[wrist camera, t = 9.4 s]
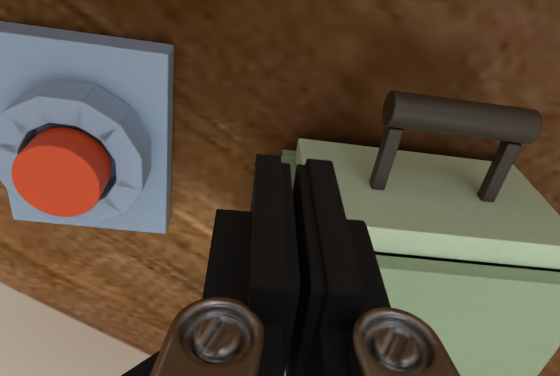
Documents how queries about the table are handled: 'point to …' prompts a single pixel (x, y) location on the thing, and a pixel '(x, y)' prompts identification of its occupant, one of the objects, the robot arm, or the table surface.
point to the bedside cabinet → (478, 309)
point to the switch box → (92, 116)
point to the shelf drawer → (446, 186)
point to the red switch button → (62, 172)
